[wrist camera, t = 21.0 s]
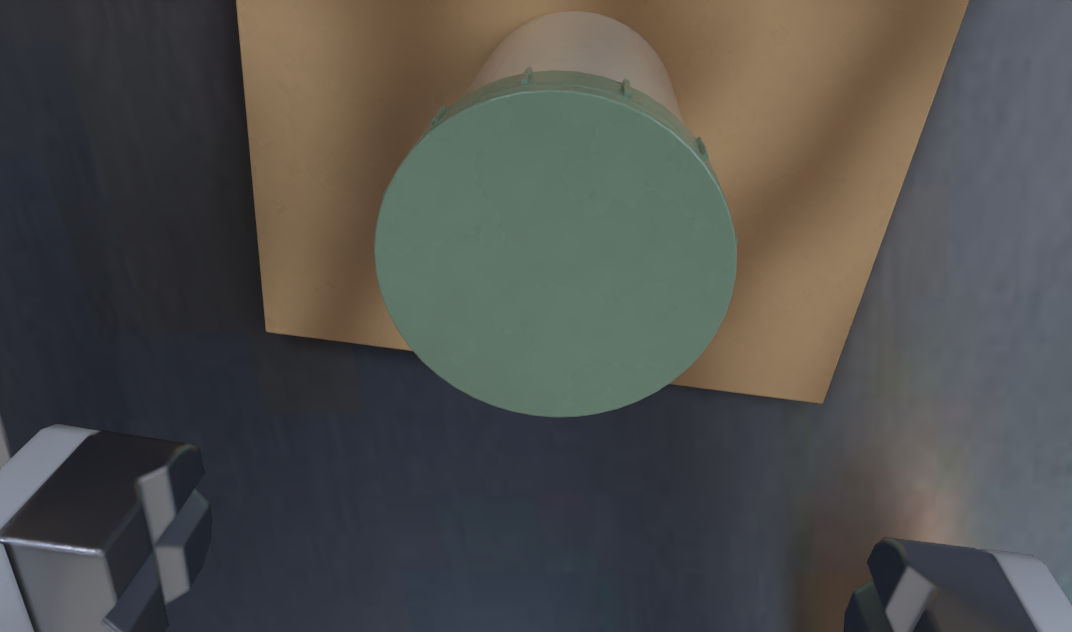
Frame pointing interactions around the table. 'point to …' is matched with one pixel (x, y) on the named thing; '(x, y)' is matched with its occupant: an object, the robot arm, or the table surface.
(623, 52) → the jar
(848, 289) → the cork board
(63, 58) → the table surface
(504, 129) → the lid
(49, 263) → the table surface
